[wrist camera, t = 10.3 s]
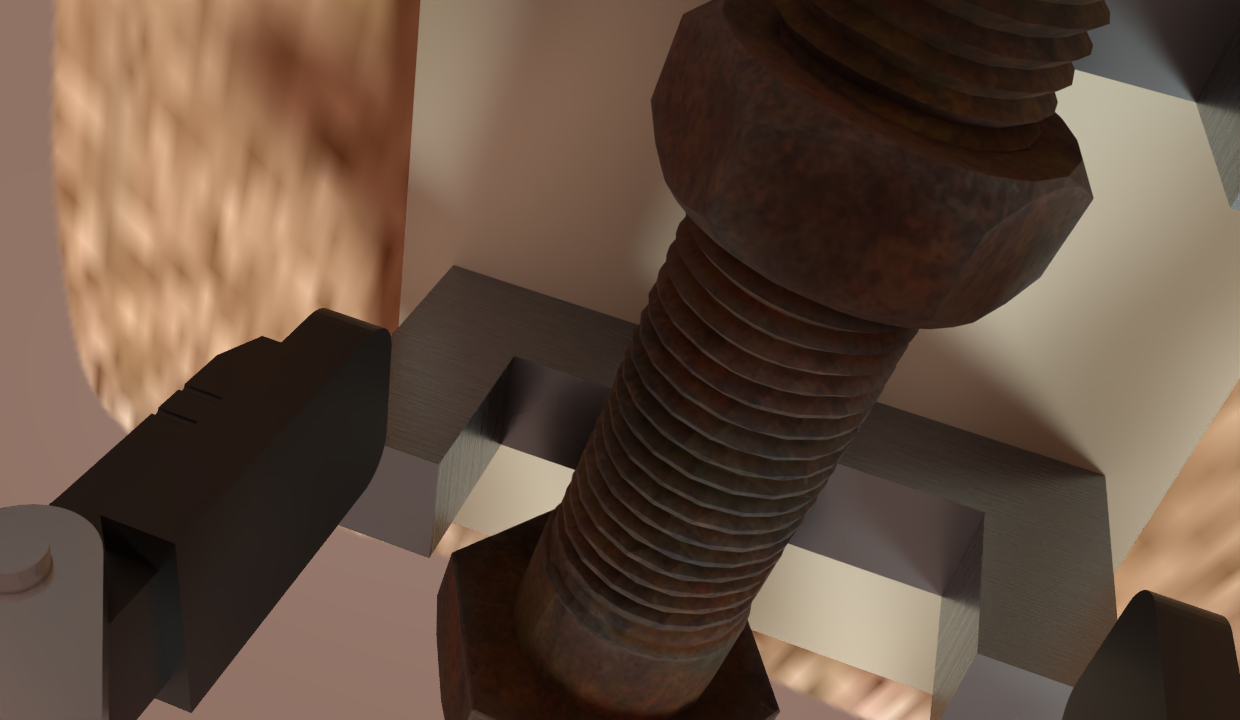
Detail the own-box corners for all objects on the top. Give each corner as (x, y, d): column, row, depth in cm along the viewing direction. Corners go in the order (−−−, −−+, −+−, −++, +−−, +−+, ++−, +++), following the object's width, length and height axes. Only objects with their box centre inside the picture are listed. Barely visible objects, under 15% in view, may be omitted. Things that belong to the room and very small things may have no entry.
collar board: (1727, -493, 12) (1803, -504, 11) (1018, 669, 24) (1017, 724, 23) (519, -721, 14) (471, -751, 13) (416, 458, 26) (387, 499, 25)
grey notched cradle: (1420, -61, 14) (1579, 74, 10) (1058, 556, 20) (1063, 789, 16) (508, -287, 15) (325, -250, 11) (444, 350, 22) (314, 516, 18)
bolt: (1126, -270, 13) (680, 558, 22) (746, -427, 11) (424, 545, 20) (1516, -95, 9) (770, 847, 18) (1010, -301, 7) (456, 863, 16)
